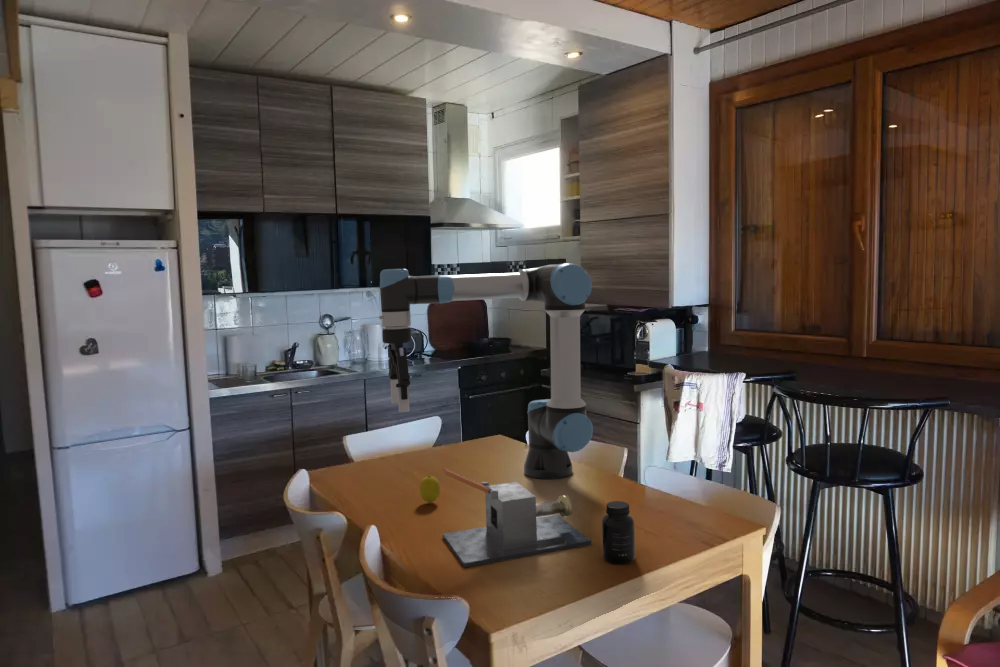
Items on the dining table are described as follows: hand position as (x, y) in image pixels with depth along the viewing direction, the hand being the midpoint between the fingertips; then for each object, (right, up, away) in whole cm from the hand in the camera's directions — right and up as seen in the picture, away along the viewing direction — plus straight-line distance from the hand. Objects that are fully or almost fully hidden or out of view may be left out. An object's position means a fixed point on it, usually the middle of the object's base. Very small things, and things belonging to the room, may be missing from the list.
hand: (400, 407), depth 175 cm
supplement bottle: (+52, -29, -34) cm, 69 cm away
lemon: (+7, -27, +6) cm, 29 cm away
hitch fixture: (+29, -29, -23) cm, 47 cm away
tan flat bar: (+19, -14, -27) cm, 36 cm away
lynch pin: (+35, -24, -21) cm, 48 cm away
